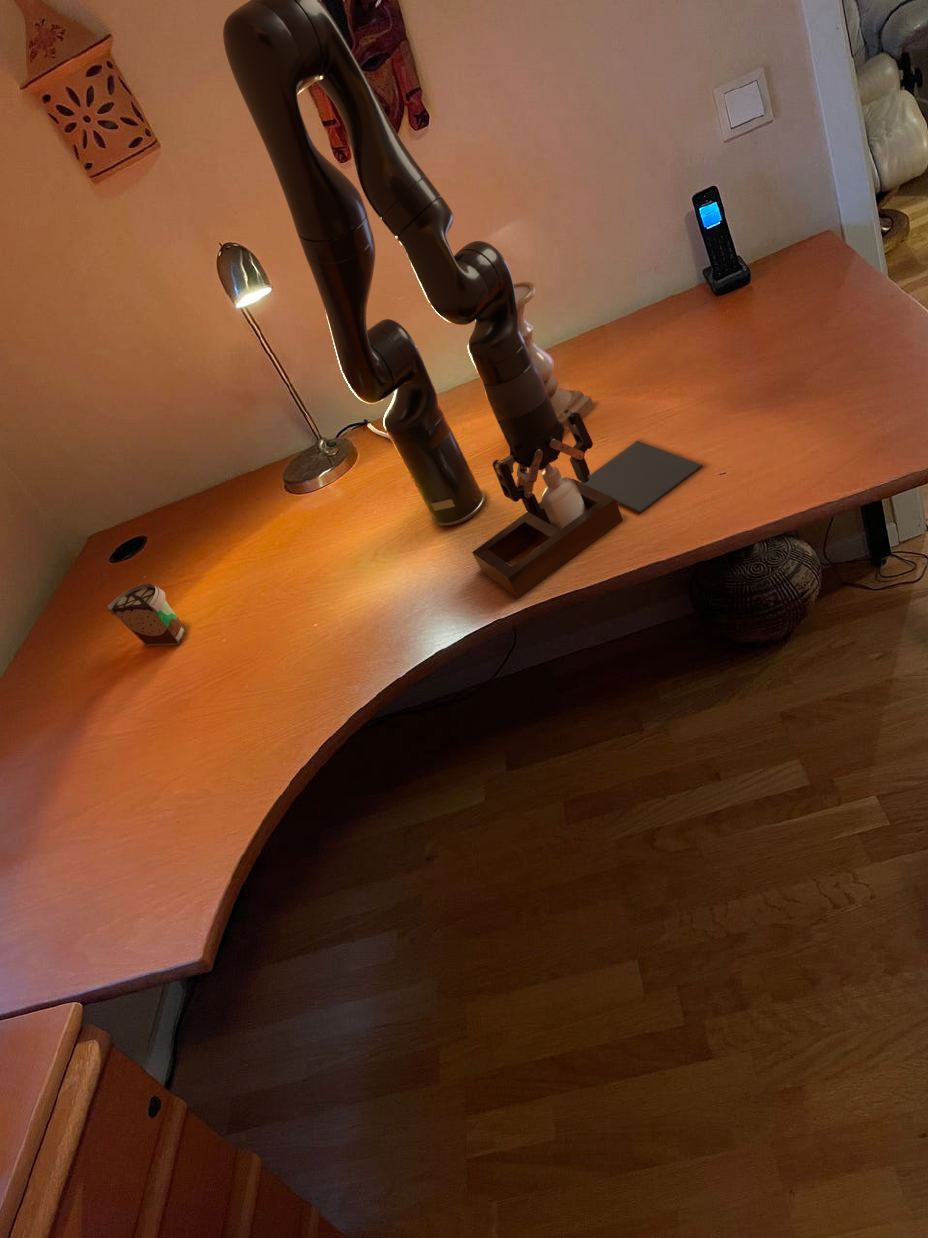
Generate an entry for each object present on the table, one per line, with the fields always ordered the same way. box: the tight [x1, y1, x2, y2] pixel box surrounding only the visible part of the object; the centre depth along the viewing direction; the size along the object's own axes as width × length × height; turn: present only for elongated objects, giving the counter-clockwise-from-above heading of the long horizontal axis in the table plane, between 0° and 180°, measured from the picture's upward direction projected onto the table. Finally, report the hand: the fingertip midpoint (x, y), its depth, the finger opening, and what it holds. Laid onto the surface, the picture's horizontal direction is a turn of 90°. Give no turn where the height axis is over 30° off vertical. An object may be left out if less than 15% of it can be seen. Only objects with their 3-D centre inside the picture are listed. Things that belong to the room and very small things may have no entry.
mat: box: [580, 440, 703, 514], centre depth 126 cm, size 15×12×1 cm
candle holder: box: [513, 281, 595, 437], centre depth 143 cm, size 11×11×24 cm
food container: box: [107, 582, 187, 646], centre depth 148 cm, size 12×6×10 cm, turn 65°
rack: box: [471, 478, 624, 600], centre depth 121 cm, size 11×19×4 cm, turn 118°
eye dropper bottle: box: [540, 463, 587, 530], centre depth 119 cm, size 4×6×12 cm
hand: (560, 497), depth 119 cm, fingers open, 8 cm apart
